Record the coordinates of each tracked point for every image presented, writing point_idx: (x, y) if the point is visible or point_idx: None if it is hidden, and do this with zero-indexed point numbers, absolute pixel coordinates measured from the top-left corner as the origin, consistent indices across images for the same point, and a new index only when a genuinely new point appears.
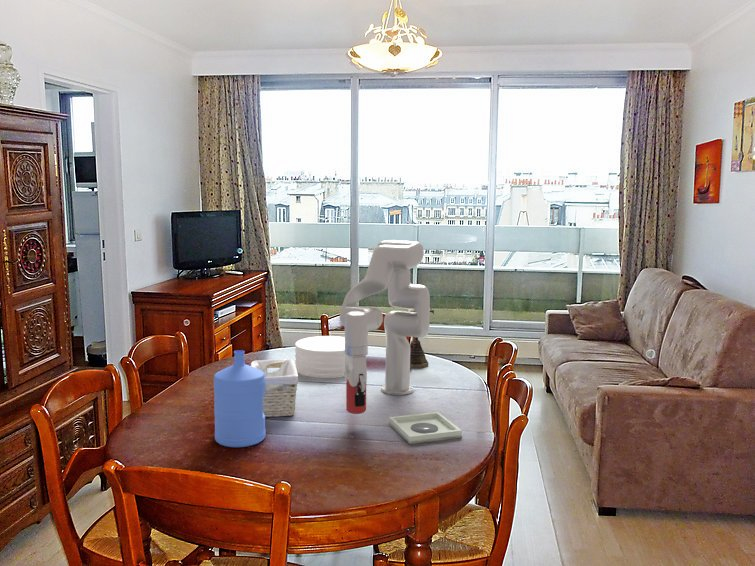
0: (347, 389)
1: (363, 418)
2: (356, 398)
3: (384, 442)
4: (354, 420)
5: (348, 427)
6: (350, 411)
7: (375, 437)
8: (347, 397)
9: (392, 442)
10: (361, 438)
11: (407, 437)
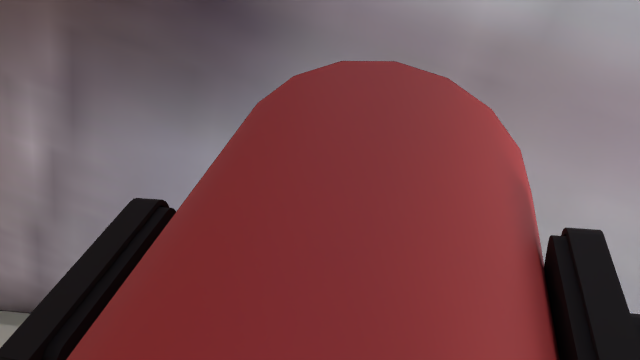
0: (179, 354)
1: (603, 231)
2: (56, 312)
3: (10, 189)
4: (593, 135)
5: (407, 8)
6: (272, 95)
7: (109, 165)
8: (269, 189)
9: (14, 236)
10: (89, 46)
11: (4, 337)
